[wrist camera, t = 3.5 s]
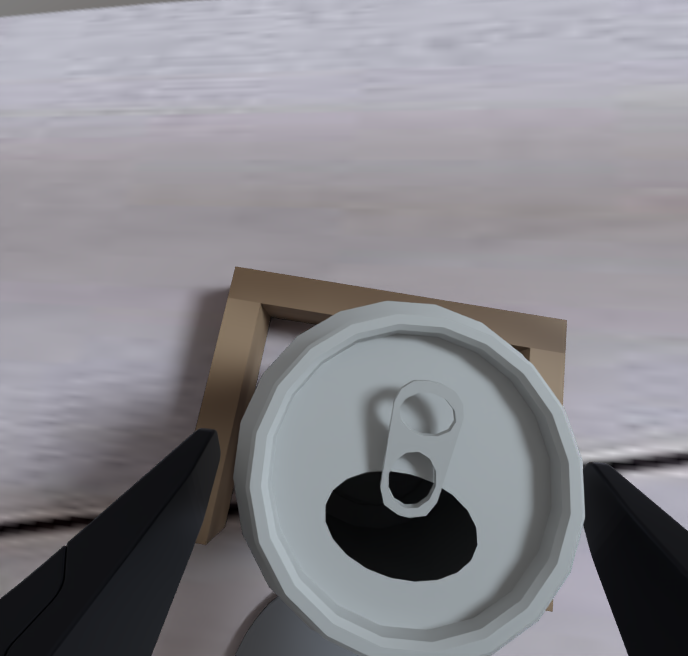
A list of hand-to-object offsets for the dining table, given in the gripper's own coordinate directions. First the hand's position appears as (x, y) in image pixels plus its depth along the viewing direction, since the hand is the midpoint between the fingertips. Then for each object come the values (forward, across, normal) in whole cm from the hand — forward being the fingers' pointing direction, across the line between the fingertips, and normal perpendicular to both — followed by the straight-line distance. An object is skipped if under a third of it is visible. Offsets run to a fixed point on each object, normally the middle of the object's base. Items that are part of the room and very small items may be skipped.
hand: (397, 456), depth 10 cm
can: (+7, 0, +7) cm, 10 cm away
